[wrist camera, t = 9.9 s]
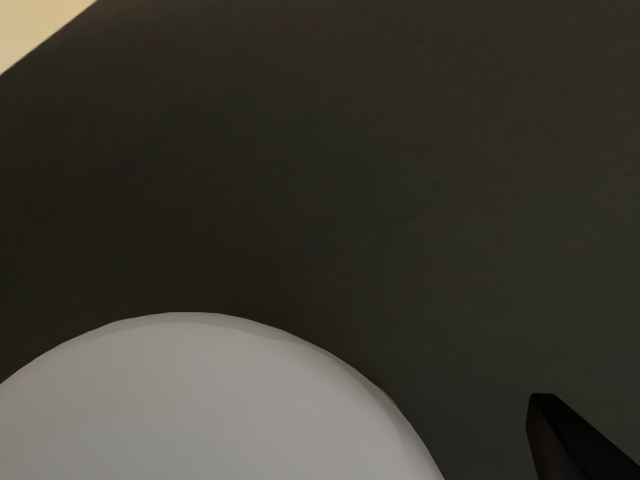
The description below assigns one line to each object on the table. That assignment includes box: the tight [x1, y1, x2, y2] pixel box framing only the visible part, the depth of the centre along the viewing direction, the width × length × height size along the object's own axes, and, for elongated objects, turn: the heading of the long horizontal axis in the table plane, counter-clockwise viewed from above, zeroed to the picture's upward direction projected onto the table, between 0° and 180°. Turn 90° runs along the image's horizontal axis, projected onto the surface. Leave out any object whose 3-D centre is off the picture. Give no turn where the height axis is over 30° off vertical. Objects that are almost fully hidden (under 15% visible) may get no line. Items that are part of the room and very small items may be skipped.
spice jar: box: [0, 312, 444, 480], centre depth 8 cm, size 5×5×13 cm
